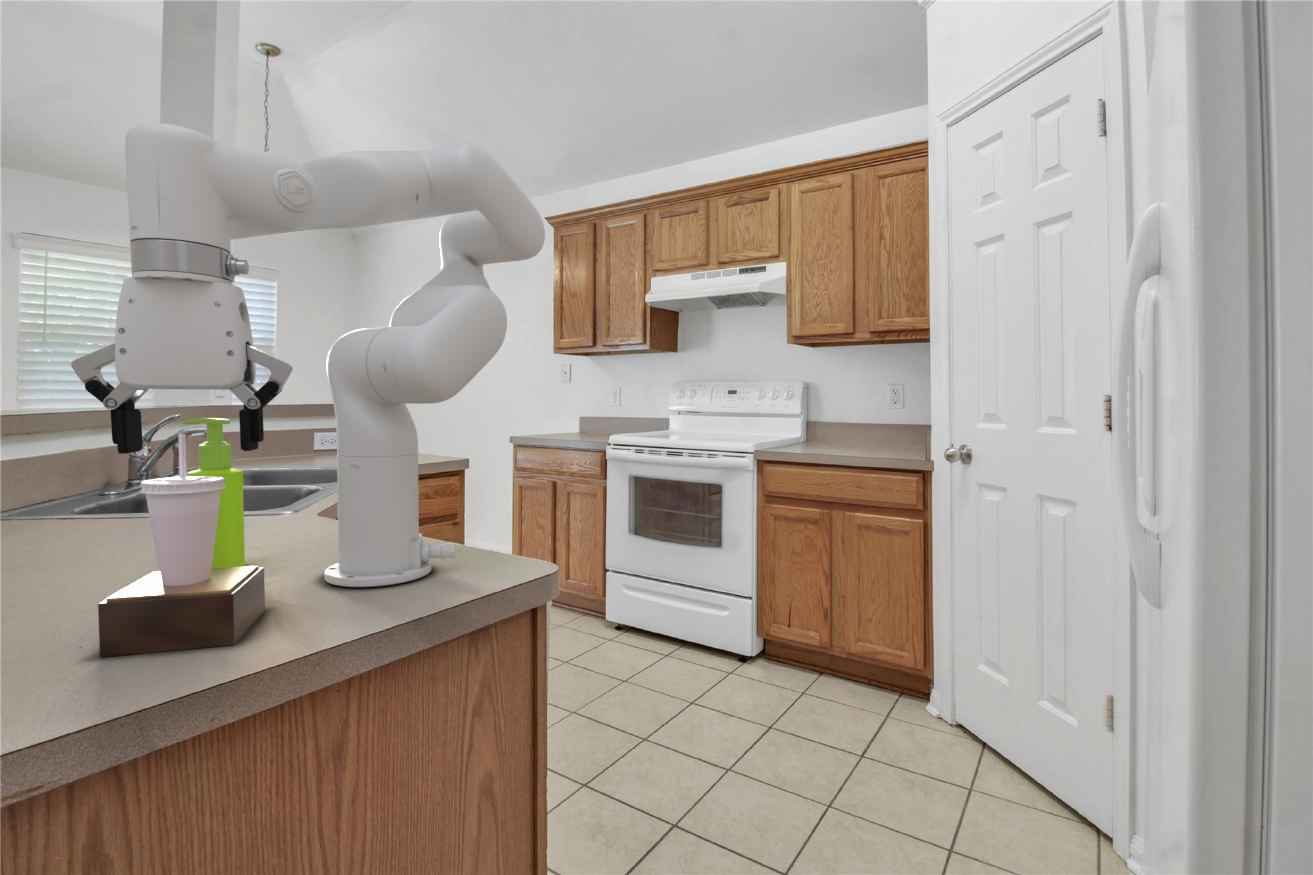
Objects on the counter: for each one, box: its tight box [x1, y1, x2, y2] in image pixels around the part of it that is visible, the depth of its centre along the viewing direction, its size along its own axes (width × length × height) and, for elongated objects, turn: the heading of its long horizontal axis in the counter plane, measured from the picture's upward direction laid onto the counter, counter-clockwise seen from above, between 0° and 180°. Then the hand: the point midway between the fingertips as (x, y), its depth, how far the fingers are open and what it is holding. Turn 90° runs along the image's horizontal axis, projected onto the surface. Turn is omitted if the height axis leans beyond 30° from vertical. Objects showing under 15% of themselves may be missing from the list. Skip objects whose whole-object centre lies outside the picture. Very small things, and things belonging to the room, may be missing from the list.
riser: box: [97, 565, 266, 658], centre depth 60 cm, size 10×10×5 cm
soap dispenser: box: [181, 417, 246, 568], centre depth 82 cm, size 6×7×20 cm
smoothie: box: [140, 433, 225, 586], centre depth 60 cm, size 6×6×14 cm
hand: (191, 451), depth 60 cm, fingers open, 9 cm apart
